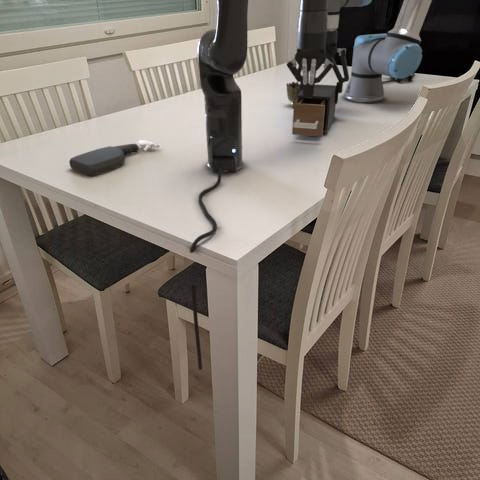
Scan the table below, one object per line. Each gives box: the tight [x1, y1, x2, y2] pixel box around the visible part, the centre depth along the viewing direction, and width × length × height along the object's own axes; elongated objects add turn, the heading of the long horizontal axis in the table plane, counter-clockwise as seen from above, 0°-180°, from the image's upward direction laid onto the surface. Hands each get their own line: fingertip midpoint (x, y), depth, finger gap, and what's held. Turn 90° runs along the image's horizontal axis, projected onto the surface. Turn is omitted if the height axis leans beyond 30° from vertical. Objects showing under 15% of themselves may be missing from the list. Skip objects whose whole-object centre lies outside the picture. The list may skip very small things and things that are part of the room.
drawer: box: [291, 98, 327, 138], centre depth 135 cm, size 24×9×9 cm, turn 163°
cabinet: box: [297, 83, 337, 134], centre depth 145 cm, size 20×10×11 cm, turn 163°
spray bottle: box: [68, 139, 160, 177], centre depth 124 cm, size 3×11×24 cm
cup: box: [286, 81, 301, 107], centre depth 165 cm, size 8×7×8 cm
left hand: (307, 97), depth 124 cm, fingers closed
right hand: (319, 101), depth 150 cm, fingers closed on cabinet, 10 cm apart
